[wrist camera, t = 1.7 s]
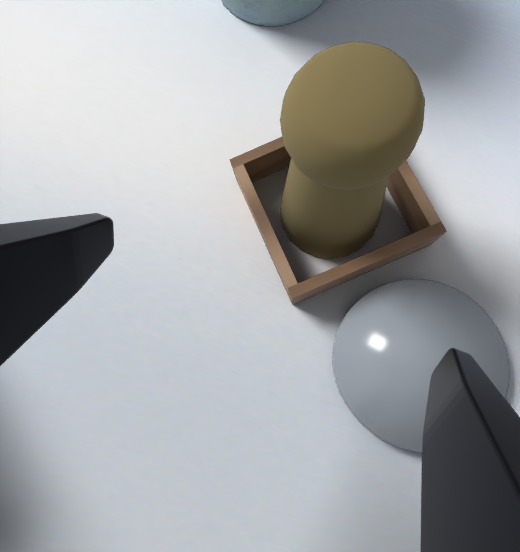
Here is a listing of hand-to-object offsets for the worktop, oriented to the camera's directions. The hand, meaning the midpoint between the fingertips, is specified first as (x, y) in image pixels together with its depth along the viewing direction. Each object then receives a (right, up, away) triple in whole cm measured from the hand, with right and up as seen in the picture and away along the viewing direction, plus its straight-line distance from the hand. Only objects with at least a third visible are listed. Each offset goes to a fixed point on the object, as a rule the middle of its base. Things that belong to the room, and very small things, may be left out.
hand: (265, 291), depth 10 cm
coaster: (+8, -4, +11) cm, 15 cm away
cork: (+4, +4, +14) cm, 15 cm away
